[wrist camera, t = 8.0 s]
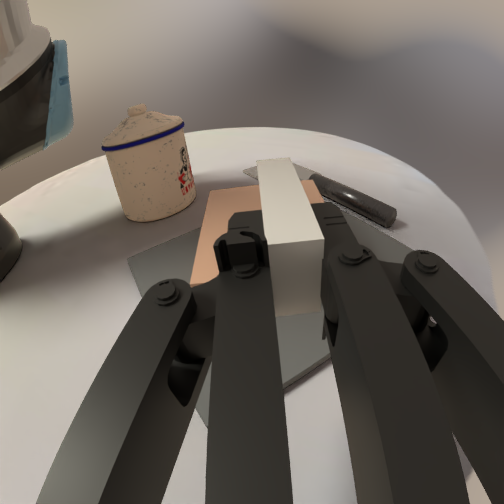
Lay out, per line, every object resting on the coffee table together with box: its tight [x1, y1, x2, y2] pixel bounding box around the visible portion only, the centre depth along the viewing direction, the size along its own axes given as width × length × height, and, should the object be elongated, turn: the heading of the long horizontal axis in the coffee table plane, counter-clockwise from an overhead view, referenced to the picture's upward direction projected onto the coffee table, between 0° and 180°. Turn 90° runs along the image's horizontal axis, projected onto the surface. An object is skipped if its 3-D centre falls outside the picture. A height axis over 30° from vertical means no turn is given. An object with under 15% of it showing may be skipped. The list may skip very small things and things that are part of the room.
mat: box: [127, 201, 414, 428], centre depth 21 cm, size 18×16×1 cm
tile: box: [190, 180, 324, 287], centre depth 21 cm, size 3×9×12 cm
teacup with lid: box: [102, 104, 196, 222], centre depth 30 cm, size 12×9×12 cm
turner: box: [243, 163, 397, 228], centre depth 30 cm, size 20×6×2 cm, turn 32°
